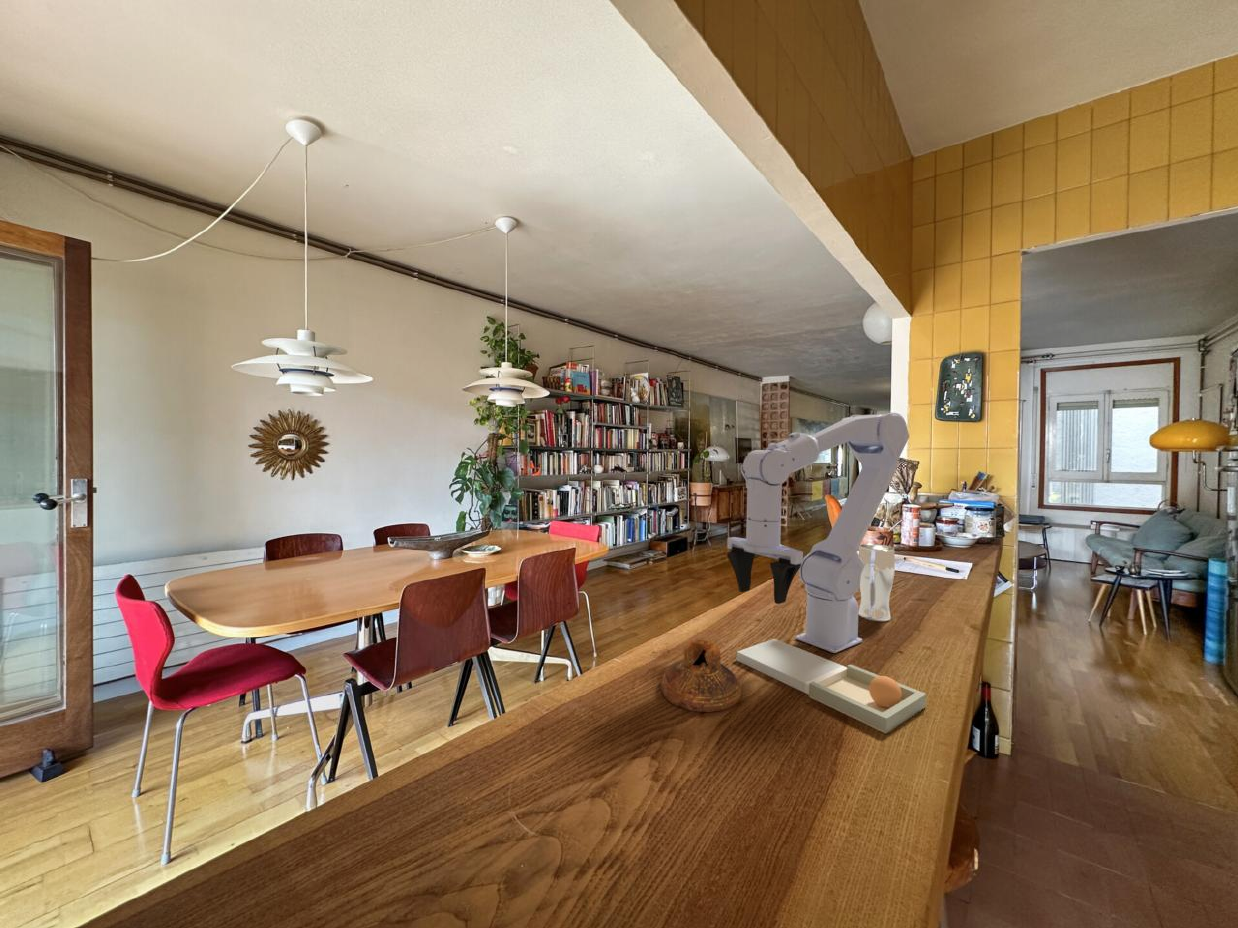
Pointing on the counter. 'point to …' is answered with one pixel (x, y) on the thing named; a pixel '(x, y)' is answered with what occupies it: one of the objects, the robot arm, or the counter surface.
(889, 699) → the ball
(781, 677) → the plate
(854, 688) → the tray
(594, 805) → the counter surface
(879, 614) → the beer glass
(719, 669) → the bell
